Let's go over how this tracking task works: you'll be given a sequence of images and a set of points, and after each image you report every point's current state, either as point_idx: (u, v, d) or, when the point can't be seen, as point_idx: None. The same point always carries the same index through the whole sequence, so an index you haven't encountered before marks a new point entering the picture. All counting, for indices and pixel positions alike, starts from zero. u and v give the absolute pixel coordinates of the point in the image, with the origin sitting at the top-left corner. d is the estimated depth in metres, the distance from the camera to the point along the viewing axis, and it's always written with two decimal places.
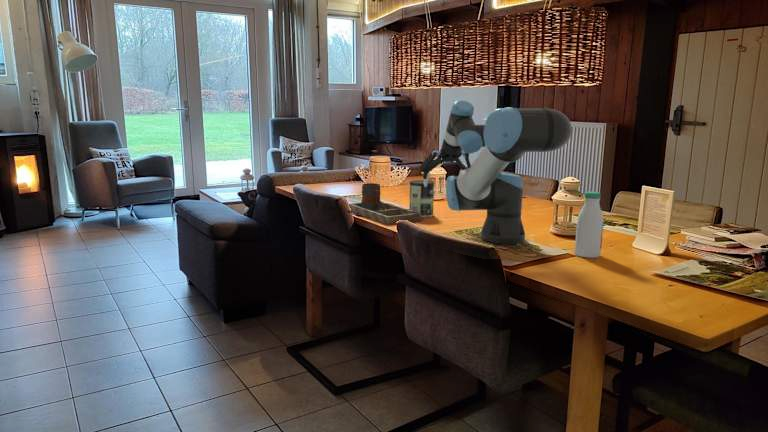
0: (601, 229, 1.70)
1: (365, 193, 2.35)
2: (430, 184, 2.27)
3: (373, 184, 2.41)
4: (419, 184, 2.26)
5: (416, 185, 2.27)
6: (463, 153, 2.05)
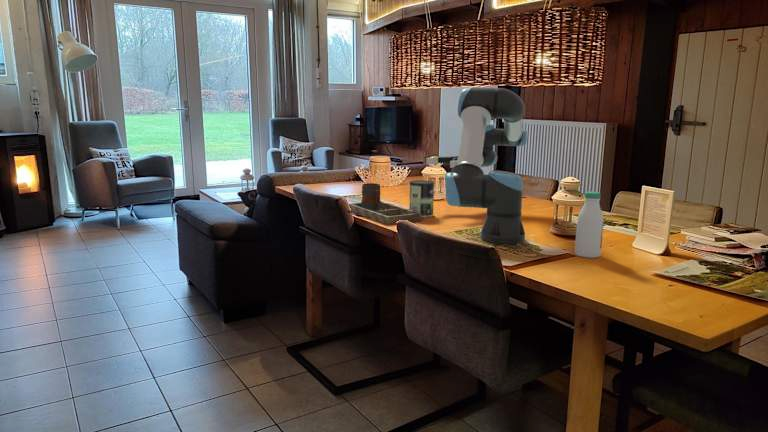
0: (601, 229, 1.70)
1: (365, 193, 2.35)
2: (430, 184, 2.27)
3: (373, 184, 2.41)
4: (419, 184, 2.26)
5: (416, 185, 2.27)
6: None
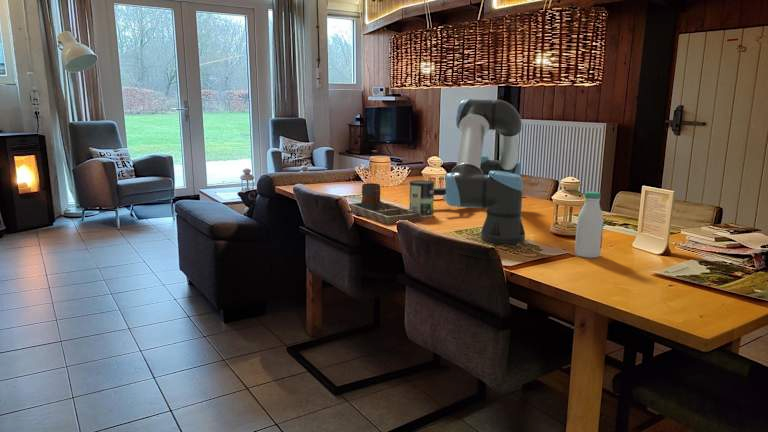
0: (601, 229, 1.70)
1: (365, 193, 2.35)
2: (430, 184, 2.27)
3: (373, 184, 2.41)
4: (419, 184, 2.26)
5: (416, 185, 2.27)
6: None
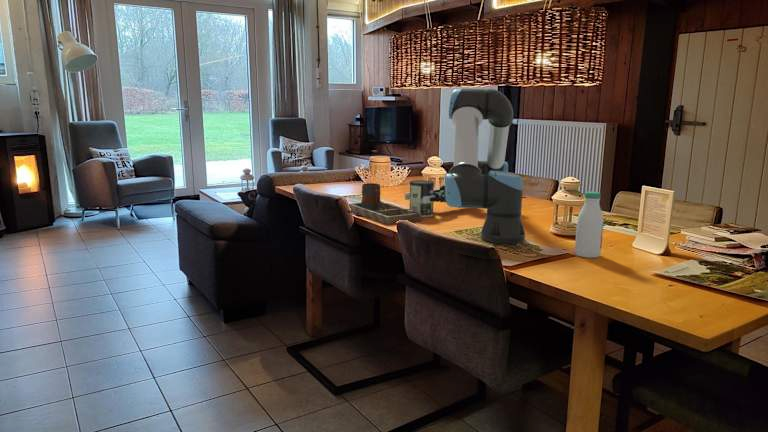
0: (601, 229, 1.70)
1: (365, 193, 2.35)
2: (430, 184, 2.27)
3: (373, 184, 2.41)
4: (419, 184, 2.26)
5: (416, 185, 2.27)
6: None
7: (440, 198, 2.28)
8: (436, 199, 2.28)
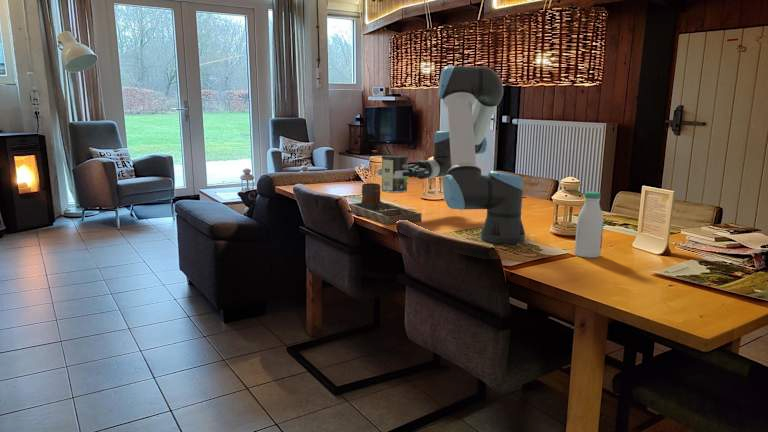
0: (601, 229, 1.70)
1: (365, 193, 2.35)
2: (403, 158, 2.16)
3: (373, 184, 2.41)
4: (391, 158, 2.15)
5: (388, 159, 2.16)
6: None
7: (413, 173, 2.17)
8: (409, 174, 2.17)
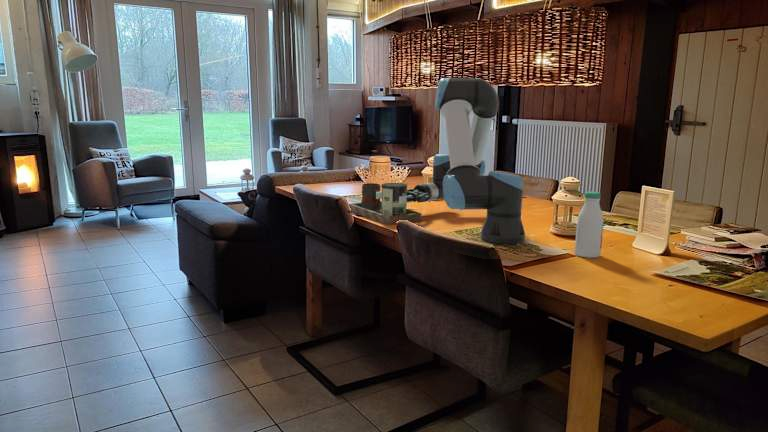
0: (601, 229, 1.70)
1: (365, 193, 2.35)
2: (402, 187, 2.18)
3: (373, 184, 2.41)
4: (391, 187, 2.17)
5: (388, 188, 2.18)
6: None
7: (417, 198, 2.19)
8: (413, 199, 2.19)
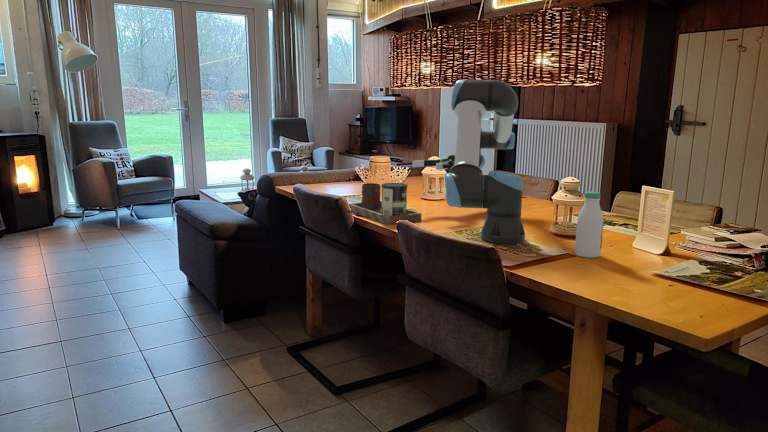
0: (601, 229, 1.70)
1: (365, 193, 2.35)
2: (402, 187, 2.18)
3: (373, 184, 2.41)
4: (391, 187, 2.17)
5: (388, 188, 2.18)
6: None
7: (453, 165, 2.28)
8: (449, 166, 2.28)
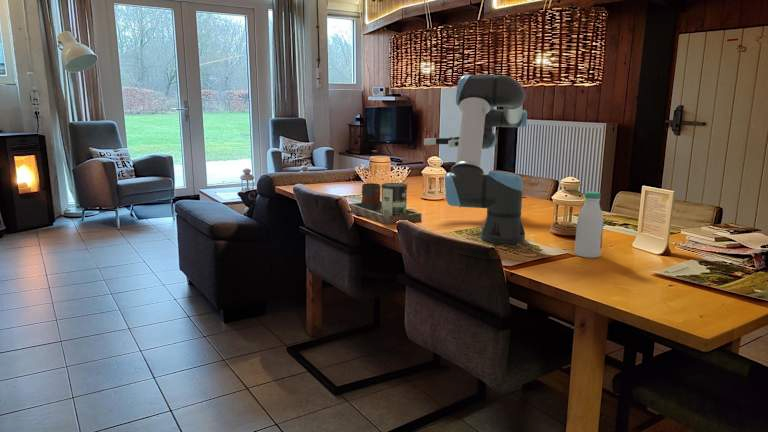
0: (601, 229, 1.70)
1: (365, 193, 2.35)
2: (402, 187, 2.18)
3: (373, 184, 2.41)
4: (391, 187, 2.17)
5: (388, 188, 2.18)
6: None
7: None
8: None
